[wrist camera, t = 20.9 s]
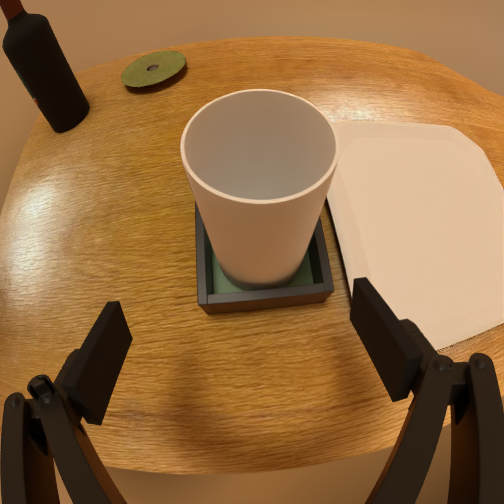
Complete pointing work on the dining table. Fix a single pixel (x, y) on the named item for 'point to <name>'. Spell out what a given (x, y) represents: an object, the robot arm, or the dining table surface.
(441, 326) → the plate
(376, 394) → the dining table surface
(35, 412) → the robot arm
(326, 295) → the holder
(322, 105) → the dining table surface
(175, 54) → the mat
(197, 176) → the cup
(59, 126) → the wine bottle
